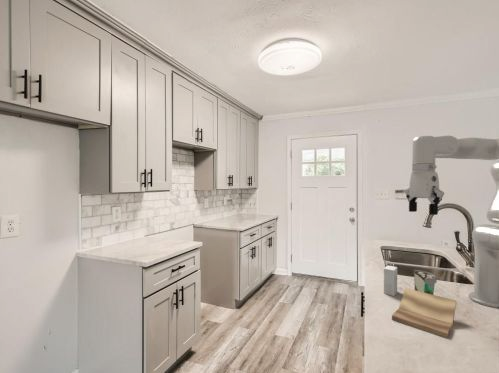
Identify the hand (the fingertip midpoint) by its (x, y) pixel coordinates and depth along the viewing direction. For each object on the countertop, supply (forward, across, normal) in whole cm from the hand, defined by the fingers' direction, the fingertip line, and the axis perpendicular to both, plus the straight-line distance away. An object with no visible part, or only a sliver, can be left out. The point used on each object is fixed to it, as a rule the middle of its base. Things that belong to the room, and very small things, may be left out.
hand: (422, 213), depth 106 cm
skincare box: (+38, +13, +3) cm, 40 cm away
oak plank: (+33, -7, +3) cm, 34 cm away
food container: (+38, +8, -10) cm, 40 cm away
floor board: (+37, -8, +6) cm, 39 cm away
